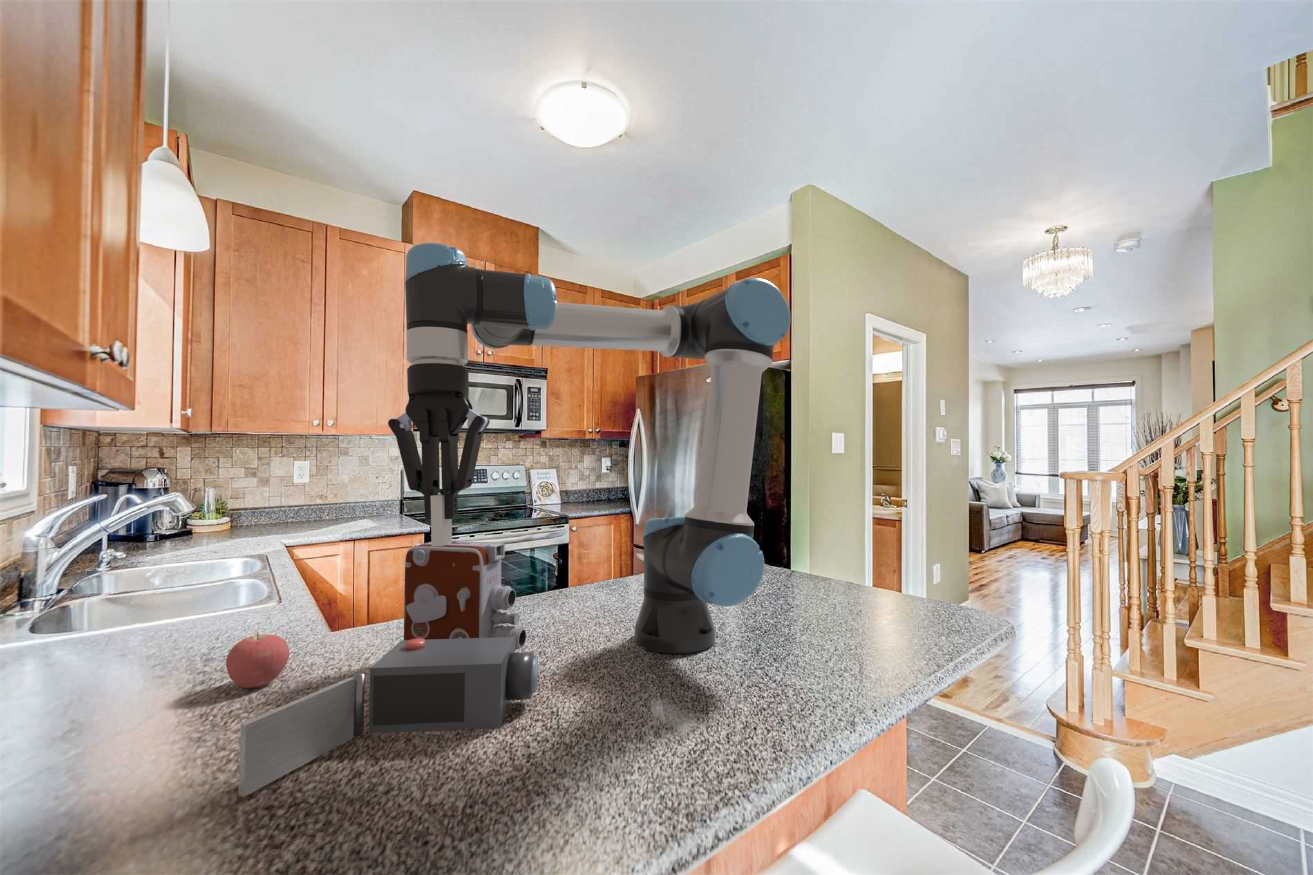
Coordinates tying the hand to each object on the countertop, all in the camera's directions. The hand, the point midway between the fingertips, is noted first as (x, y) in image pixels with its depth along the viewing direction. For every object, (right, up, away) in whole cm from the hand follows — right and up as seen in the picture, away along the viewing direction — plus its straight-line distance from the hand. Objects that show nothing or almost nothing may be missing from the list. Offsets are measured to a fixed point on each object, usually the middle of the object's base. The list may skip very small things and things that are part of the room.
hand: (441, 544), depth 69 cm
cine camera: (-3, -24, +18) cm, 30 cm away
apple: (-32, -24, +10) cm, 41 cm away
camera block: (+2, -23, +2) cm, 23 cm away
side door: (-11, -22, -10) cm, 27 cm away
